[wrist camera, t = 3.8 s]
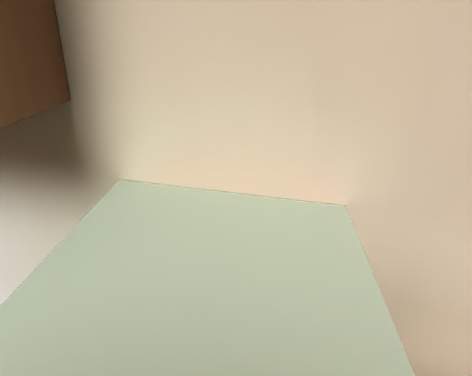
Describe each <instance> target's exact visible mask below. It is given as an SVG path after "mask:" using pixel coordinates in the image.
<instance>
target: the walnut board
mask: <svg viewBox="0 0 472 376" xmlns="http://www.w3.org/2000/svg"><path fill="white" fill-rule="evenodd" d="M69 100H70V97H69V91H68V85H67V79H66V73H65V67H64V62H63V56H62V50H61V44H60V38H59V32H58V26H57V20H56V14H55V8H54V3H53V0H0V128H2V127H5V126H7V125H10V124H12V123H15V122H17V121H19V120H22V119H24V118H27V117H29V116H32V115H34V114H37V113H39V112H42V111H44V110H47V109H49V108H52V107H54V106H56V105H59V104H61V103H64V102H66V101H69Z"/></svg>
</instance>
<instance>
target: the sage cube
mask: <svg viewBox="0 0 472 376" xmlns="http://www.w3.org/2000/svg"><path fill="white" fill-rule="evenodd" d="M0 376H415V374H414V372H413V369H412V367H411V364H410V362H409V360H408V357H407V355H406V352H405V350H404V347H403V345H402V342H401V340H400V337H399V335H398V332H397V330H396V328H395V325H394V323H393V320H392V318H391V315H390V313H389V310H388V308H387V305H386V303H385V300H384V298H383V296H382V293H381V291H380V288H379V286H378V283H377V281H376V278H375V276H374V273H373V271H372V268H371V266H370V264H369V261H368V259H367V256H366V254H365V251H364V249H363V246H362V244H361V241H360V239H359V237H358V234H357V232H356V229H355V227H354V224H353V222H352V219H351V217H350V214H349V212H348V209H347V207H346V206H343V205H334V204H326V203H317V202H308V201H300V200H291V199H282V198H274V197H265V196H257V195H248V194H239V193H231V192H222V191H213V190H205V189H196V188H187V187H179V186H170V185H161V184H153V183H144V182H136V181H127V180H118V181H117V182H116V184H115V185H114V186H113V187H112V188H111V189H110V190H109V191H108V192H107V193H106V194H105V195H104V196H103V197H102V198H101V200H100V201H99V202H98V203H97V204H96V205H95V206H94V207H93V208H92V209H91V210H90V211H89V212H88V213H87V214H86V216H85V217H84V218H83V219H82V220H81V221H80V222H79V223H78V224H77V225H76V226H75V227H74V228H73V229H72V230H71V231H70V233H69V234H68V235H67V236H66V237H65V238H64V239H63V240H62V241H61V242H60V243H59V244H58V245H57V246H56V247H55V249H54V250H53V251H52V252H51V253H50V254H49V255H48V256H47V257H46V258H45V259H44V260H43V261H42V262H41V263H40V264H39V266H38V267H37V268H36V269H35V270H34V271H33V272H32V273H31V274H30V275H29V276H28V277H27V278H26V279H25V280H24V282H23V283H22V284H21V285H20V286H19V287H18V288H17V289H16V290H15V291H14V292H13V293H12V294H11V295H10V296H9V298H8V299H7V300H6V301H5V302H4V303H3V304H2V305H1V306H0Z"/></svg>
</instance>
